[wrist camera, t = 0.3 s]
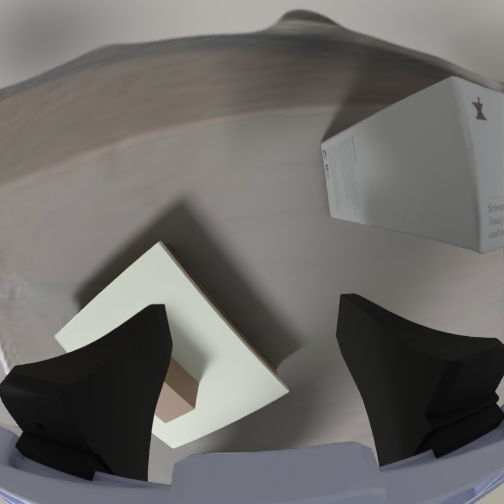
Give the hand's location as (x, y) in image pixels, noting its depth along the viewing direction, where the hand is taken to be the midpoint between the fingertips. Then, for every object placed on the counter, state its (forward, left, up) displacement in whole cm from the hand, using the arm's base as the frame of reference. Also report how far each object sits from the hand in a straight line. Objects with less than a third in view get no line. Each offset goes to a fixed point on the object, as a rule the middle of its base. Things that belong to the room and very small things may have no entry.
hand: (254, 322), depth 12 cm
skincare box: (+12, -1, -11) cm, 16 cm away
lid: (-10, -3, -8) cm, 13 cm away
